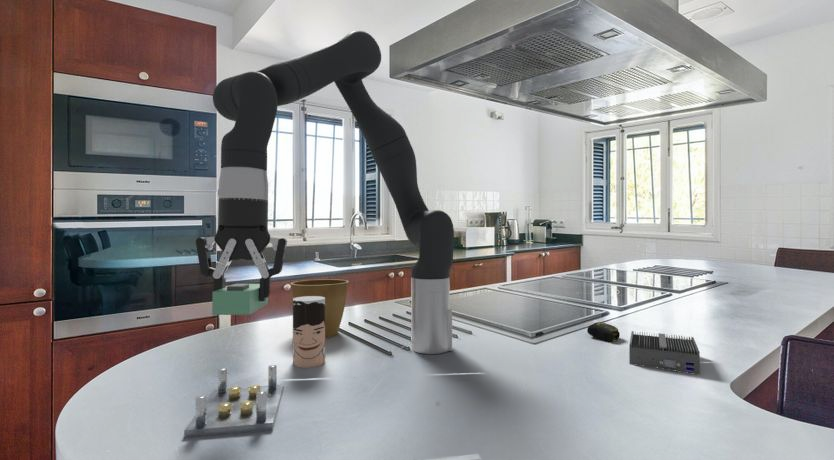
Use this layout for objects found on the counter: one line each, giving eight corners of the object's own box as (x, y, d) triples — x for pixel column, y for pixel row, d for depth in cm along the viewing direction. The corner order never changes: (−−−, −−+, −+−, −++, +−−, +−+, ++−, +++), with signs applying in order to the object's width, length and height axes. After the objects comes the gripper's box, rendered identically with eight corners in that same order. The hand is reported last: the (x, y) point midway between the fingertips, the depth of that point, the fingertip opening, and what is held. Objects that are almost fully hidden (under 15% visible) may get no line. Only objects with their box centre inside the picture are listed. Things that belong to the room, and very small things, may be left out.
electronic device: (693, 356, 101) (693, 335, 101) (700, 376, 87) (700, 351, 87) (631, 349, 107) (631, 329, 107) (629, 366, 94) (629, 343, 94)
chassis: (213, 396, 76) (213, 367, 76) (283, 390, 79) (283, 362, 79) (184, 439, 61) (184, 402, 61) (272, 430, 63) (272, 395, 63)
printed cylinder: (286, 371, 90) (286, 300, 90) (304, 362, 96) (304, 295, 96) (314, 374, 88) (314, 301, 88) (330, 364, 94) (330, 296, 94)
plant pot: (360, 339, 116) (359, 280, 116) (320, 352, 104) (320, 286, 104) (320, 332, 124) (320, 277, 124) (279, 343, 112) (279, 282, 112)
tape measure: (584, 336, 115) (587, 323, 114) (598, 333, 119) (601, 320, 118) (608, 346, 109) (611, 332, 109) (622, 342, 113) (625, 329, 113)
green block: (235, 303, 74) (236, 280, 74) (268, 303, 75) (268, 280, 75) (212, 314, 64) (212, 287, 64) (249, 314, 65) (250, 287, 65)
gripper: (291, 200, 75) (289, 297, 75) (202, 198, 72) (201, 298, 72) (287, 197, 67) (286, 304, 67) (188, 194, 64) (186, 306, 64)
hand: (242, 300), depth 69 cm, fingers closed on green block, 5 cm apart
